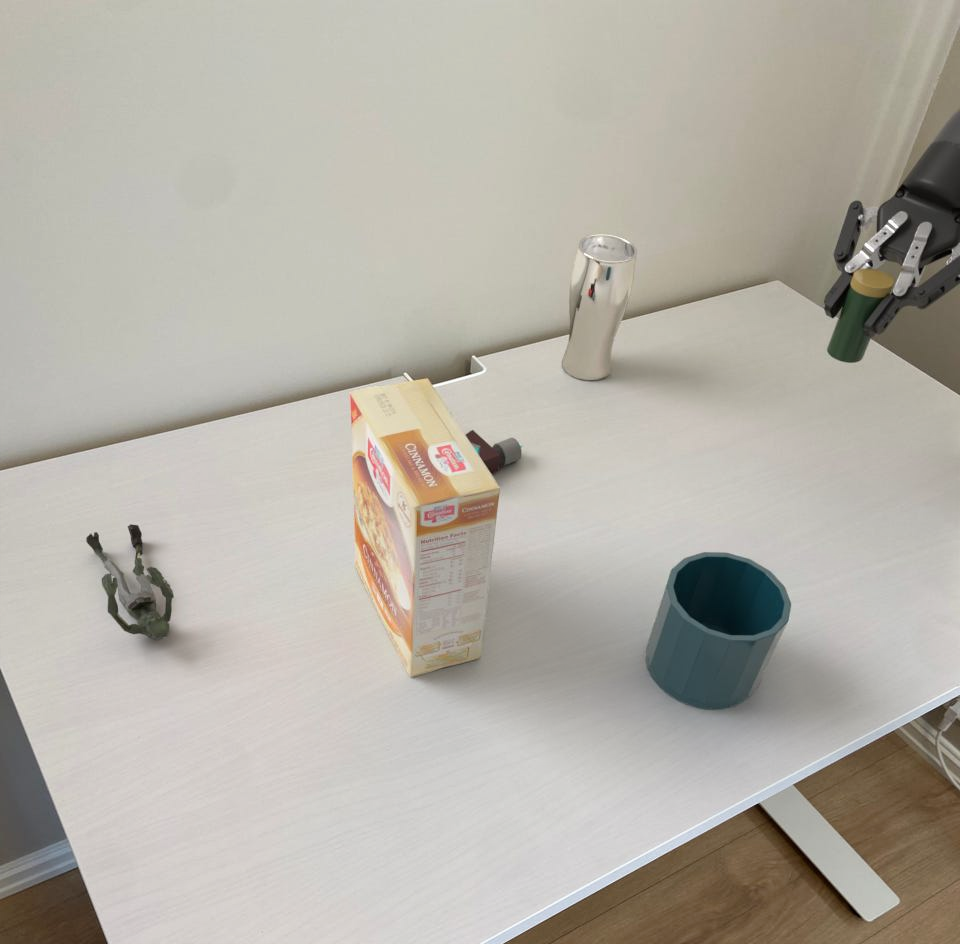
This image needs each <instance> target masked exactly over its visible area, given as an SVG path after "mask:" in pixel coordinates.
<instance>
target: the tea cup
mask: <svg viewBox="0 0 960 944" xmlns="http://www.w3.org/2000/svg"><path fill="white" fill-rule="evenodd" d="M790 599H791V598H790V596H789V594H788V591H787V588H786V587H785V585H784V584H783V583H782V582H781V581H780V580H779V579H778V577H776V575H774V574H773V572H772V571H770V569H767V568H766V567H764V566H763V565H761V564H759V563H758V562H756V561H754V560H752V559H751V558H747V557H744V556H741V555H737V554H733V553H730V552H725V551H724V552H721V551H719V552H718V551H717V552H715V551H704V552H703V551H702V552H700V553H697V554H693V555H690V556H687V557H685V558H682V560H680V561H679V562H678V563H677V564H676V565H675V566H673V567H672V568H671V570H670V572H669V576H668V579H667V582H666V585H665V587H664V590H663V594H662V598H661V601H660V604H659V607H658V610H657V614H656V617H655V620H654V623H653V626H652V630H651V632H650V635H649V639H648V642H647V645H646V649H645V664H646V667H647V671H648V673H649V675H650V676H651V678H652V679H653V681H654V682H655V683H656V684H657V686H658V687H659V688H660V689H662V690H663V692H665V693H666V694H668V695H669V696H670V697H671V698H673V699H675V700H677V701H678V702H681V703H683V704H686V705H688V706H692V707H694V708H698V709H703V710H725V709H729V708H732V707H736V706H738V705H740V704H742V703H744V702H745V701H746V700H748V699H749V698H750V697H751V696H752V695H753V693H754V692H755V690H756V688H757V687H758V686H759V684H760V682H761V680H762V679H763V676H764V675H765V672H766V670H767V668H768V666H769V663H770V661H771V659H772V657H773V655H774V653H775V651H776V649H777V646H778V644H779V642H780V641H781V638H782V635H783V634H784V631H785V629H786V627H787V625H788V623H789V620H790V615H791V609H792V601H791V600H790Z"/></svg>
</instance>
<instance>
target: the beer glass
mask: <svg viewBox="0 0 960 944" xmlns="http://www.w3.org/2000/svg"><path fill="white" fill-rule="evenodd" d="M577 245H578V246H577V251H576V254H575V257H574V262H573V267H572V272H571V277H570V283H569V284H570V285H569V296H568V306H569V307H568V308H569V311H568V313H569V314H568V315H569V335H568V342H567V345H566V349H565V351H564V354H563V357H562V359H561V367H562V369H563V370H564V372H566V373H567V375H569V376H571V377H573V378H576V379H578V380H582V381H599V380H603V379H605V378H606V377H608V376H609V375H610V373H611V371H612V363H613V362H612V361H613V360H612V359H613V358H612V357H613V356H612V355H613V354H612V353H613V346H614V341H615V338H616V336H617V332H618V330H619V328H620V325H621V322H622V320H623V318H624V315H625V312H626V310H627V307H628V304H629V302H630V297H631V294H632V289H633V284H634V278H635V271H636V264H637V262H636V261H637V256H638V249H637V247H636V246H635V244H634V243H632V242H631V241H630V240H628V239H626V238H624V237H621V236H618V235H614V234H609V233H595V234H594V233H593V234H589V235H586V236H584V237H582V238H581V239H580V240H579V241H578V244H577Z"/></svg>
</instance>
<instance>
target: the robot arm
mask: <svg viewBox="0 0 960 944" xmlns="http://www.w3.org/2000/svg"><path fill="white" fill-rule="evenodd" d="M843 220H844V221H843V224H842V227H841V230H840V233H839V236H838V239H837V242H836V245H835V248H834V251H833V258H834V261H835V266H836V268H837V270H838V271H840V272H841V273H840V276H838V278H837V280H836V281H835V282H834V283H833V285H832V286H831V288H830V289H829V291H828V292H827V293H826V294H825V296H824V299H823V303H824V307H823V309H824V310H823V311H824V313H825V316H827V317H828V318H830V319H834V318H836V316H837V315H838V314H839V313H840V312H841V310H842V307H843V304H844V302H845V299H846V296H847V293H848V291H849V288H850V282H851V280H852V277H853V274H854V272H855V271H857V270H859V269H874V270H878V269H879V268H880V267H881V266H882V265H883V264H884V263H886V262H891V263H895V264H898V265H899V266H900V267H901V270H900V273H899V275H898V278H897V280H896V282H895V283H894V286H893V288H892V291H891V293H890V294H888V293H887V295H886V296H885V297H884V298H883V300H882V301H881V303H880V304H879V305H878V307H877V308H876V309H875V311H874V312H873V313H872V315H871V316H870V317H869V319H868V320H867V321H866V323H865V324H864V326H863V331H864V334H865V335H866V336H868V337H870V338H871V339H872V338H874V337H875V335H881V334H883V333H884V332H885V331H886V330H887V329H888V328H889V326H890V325H891V323H892V322H893V320H894V319H895V318H896V316H897V315H898V314H899V312H900V311H901V310H902V309H903V308H905V307H916V308H917V309H918V310H926V309H927V308H929V307H930V306H932V305H933V304H934V303H935V302H937V301H938V300H940V299H941V298H942V297H943V296H945V295H947V294H948V293H949V292H950V291H952V290H953V289H955V288H956V287H957V286H958V285H960V107H959V108H958V109H957V110H955V112H954V113H953V114H952V115H951V116H950V117H949V119H947V121H946V122H945V124H944V125H943V126H942V127H941V129H940V130H939V131H938V133H937V135H936V136H935V137H934V138H933V140H932V141H931V142H930V143H929V145H928V147H927V148H926V150H925V151H924V152H923V153H922V155H921V156H920V157H919V159H918V160H917V162H916V163H915V164H914V166H913V167H912V168H911V170H910V171H909V172H908V174H907V175H906V177H905V178H904V179H903V181H902V182H901V183H900V185H899V186H898V188H897V190H896V192H895V193H894V194H893V196H892V197H890V198H889V199H887V200H885V201H884V202H883V203H881V205H880V206H863V202H862V201H861V200H853V201H851V202H850V204H849V205H848V209H847V211H846V215H845V218H844V219H843ZM874 222H876V233H875V234H874V235H873V236H872V237H871V238H869V239H868V240H867V241H866V242H865V243H864V244H863V246H862V248H861V250H860V251H859V252H857V253H856V254H855V252H856V248H857V246H858V242H859V239H860V236H861V232H862V233H864V232H866V231H867V230H868V229H869V227H870V226H871V224H873V223H874ZM854 254H855V255H854ZM946 257H949V258H948V259H947V260H946V265H945V266H944V267H943V268H941V269H940V270H938V271H937V272H936V273H934V274H933V275H932V276H930V277H929V278H928V279H927V280H925V281H923V282H922V283H921V284H920V281H921V279H922V276H923V274H924V272H925V269H926V268H927V266H929V265H931V264H933V263H935V262H938V261H939V260H942V259H944V258H946ZM919 284H920V285H919Z"/></svg>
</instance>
